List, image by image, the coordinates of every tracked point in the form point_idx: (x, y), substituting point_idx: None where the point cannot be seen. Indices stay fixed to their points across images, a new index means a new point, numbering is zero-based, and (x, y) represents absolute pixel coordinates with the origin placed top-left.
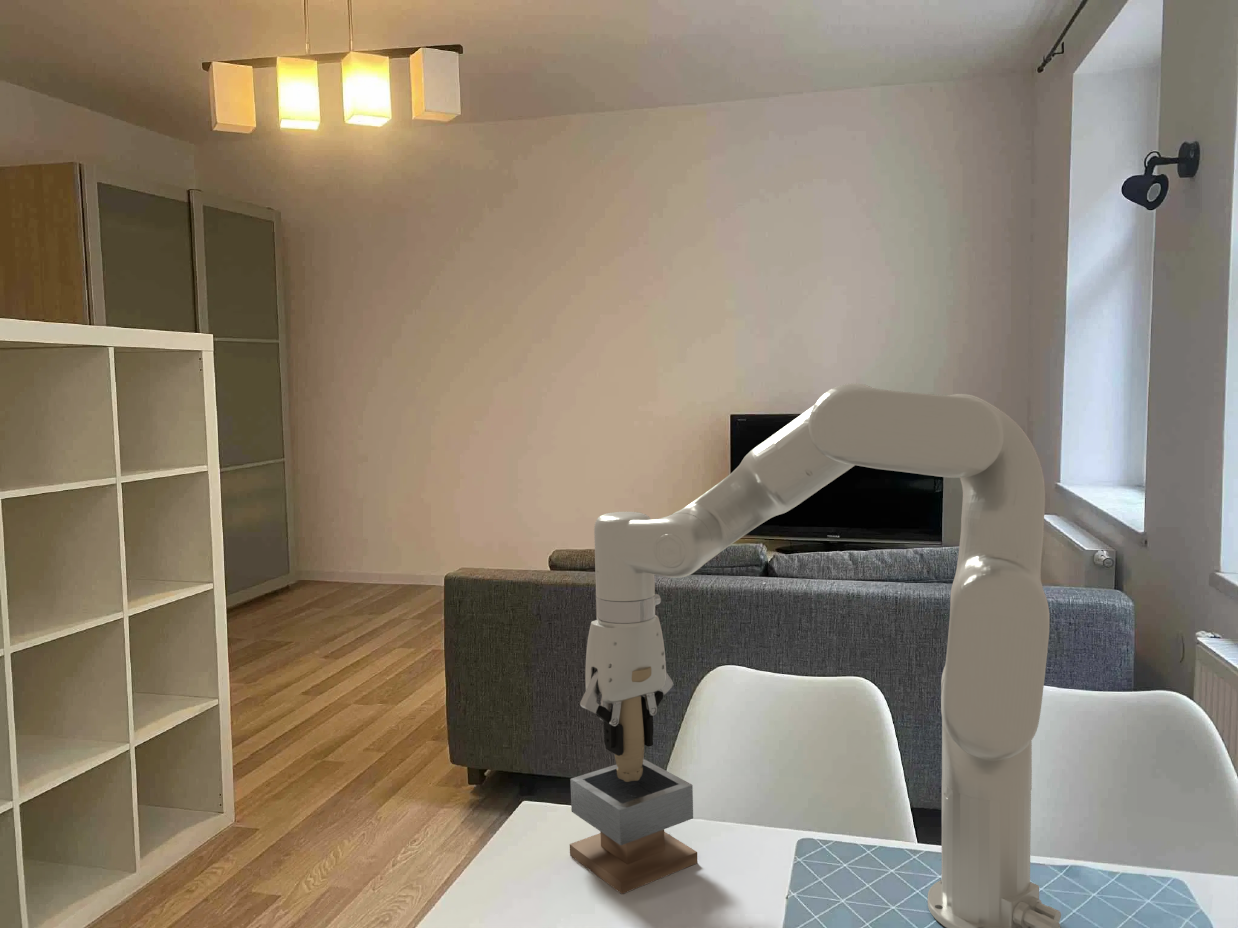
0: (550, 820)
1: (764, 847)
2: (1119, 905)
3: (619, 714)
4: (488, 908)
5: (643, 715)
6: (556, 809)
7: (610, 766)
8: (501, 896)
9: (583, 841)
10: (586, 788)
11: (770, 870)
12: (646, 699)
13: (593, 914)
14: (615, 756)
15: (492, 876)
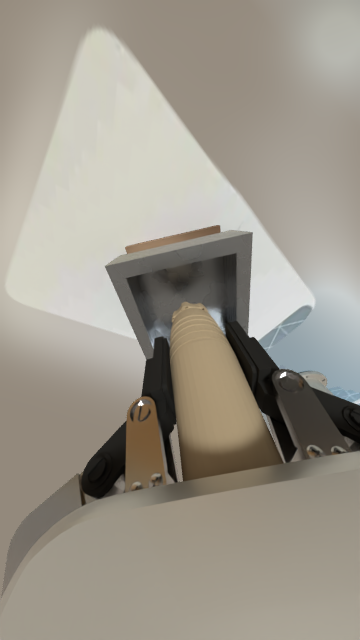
0: (118, 129)
1: (275, 305)
2: (339, 394)
3: (173, 454)
4: (47, 300)
5: (255, 393)
6: (134, 82)
7: (186, 248)
8: (57, 288)
9: (140, 249)
10: (124, 308)
11: (254, 330)
12: (283, 461)
13: (128, 333)
14: (170, 335)
15: (44, 252)
